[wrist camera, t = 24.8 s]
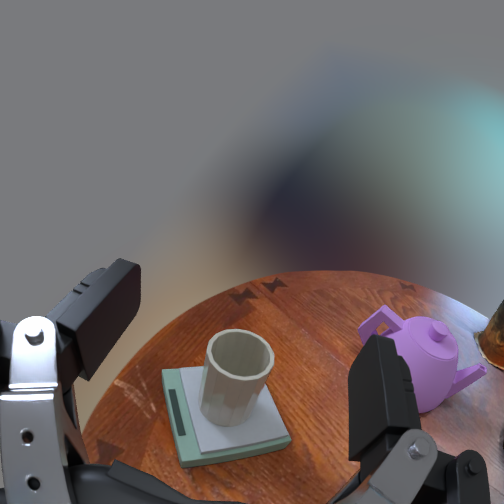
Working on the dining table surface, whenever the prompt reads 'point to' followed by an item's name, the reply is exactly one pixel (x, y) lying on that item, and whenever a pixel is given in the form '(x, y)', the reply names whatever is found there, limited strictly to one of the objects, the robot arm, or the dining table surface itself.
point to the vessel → (493, 339)
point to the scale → (214, 436)
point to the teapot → (425, 355)
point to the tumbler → (233, 376)
